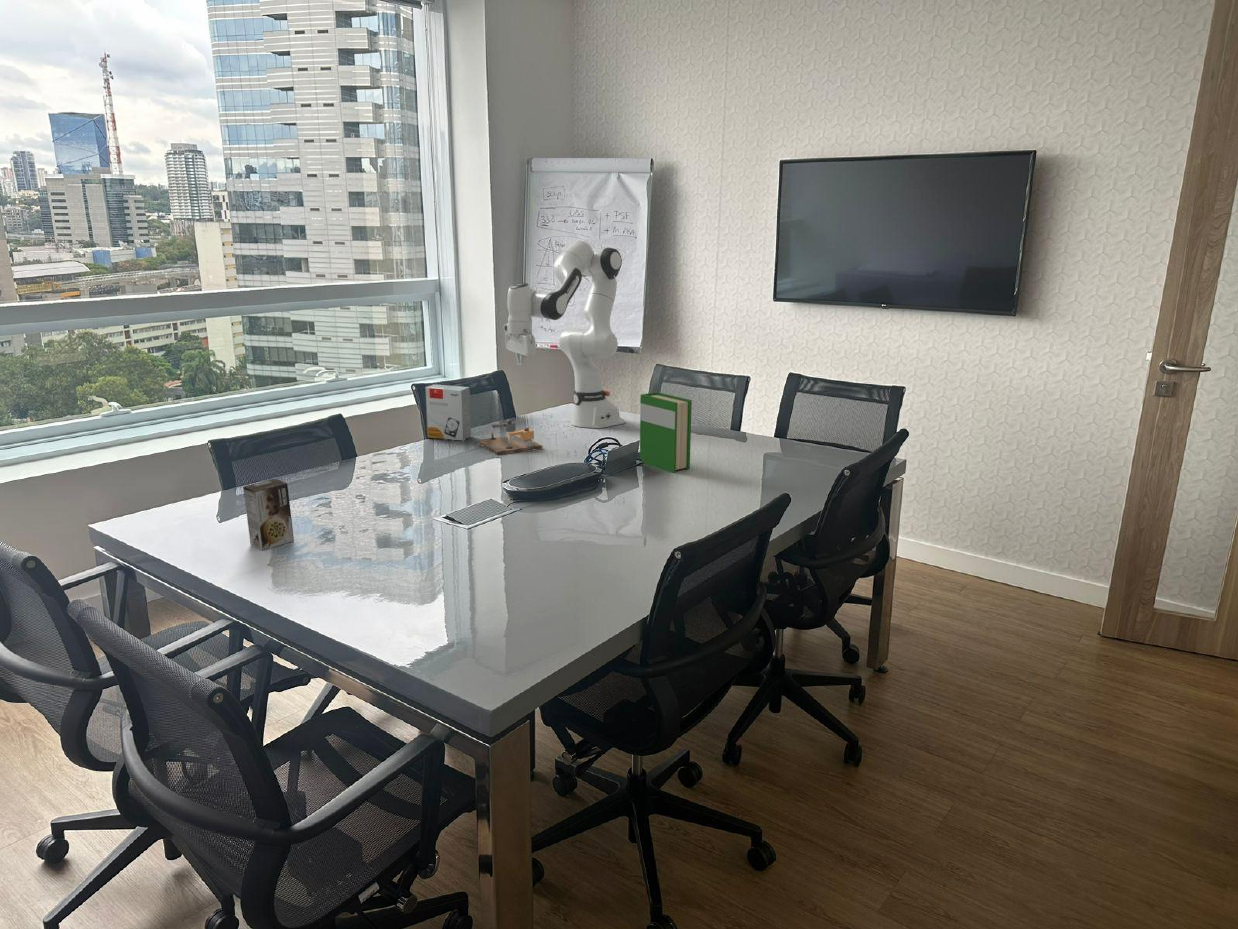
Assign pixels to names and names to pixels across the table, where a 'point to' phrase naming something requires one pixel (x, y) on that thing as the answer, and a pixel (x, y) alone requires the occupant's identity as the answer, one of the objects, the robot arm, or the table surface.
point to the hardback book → (665, 431)
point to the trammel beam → (511, 428)
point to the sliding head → (522, 435)
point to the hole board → (505, 445)
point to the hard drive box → (448, 412)
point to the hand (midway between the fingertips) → (521, 365)
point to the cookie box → (268, 514)
